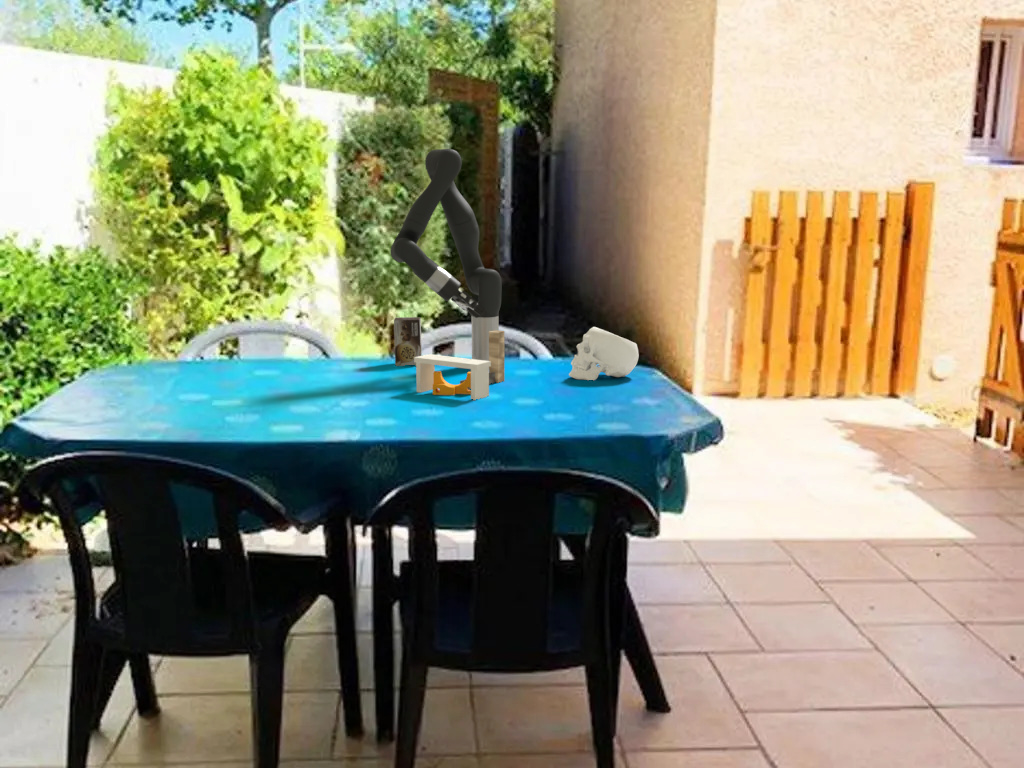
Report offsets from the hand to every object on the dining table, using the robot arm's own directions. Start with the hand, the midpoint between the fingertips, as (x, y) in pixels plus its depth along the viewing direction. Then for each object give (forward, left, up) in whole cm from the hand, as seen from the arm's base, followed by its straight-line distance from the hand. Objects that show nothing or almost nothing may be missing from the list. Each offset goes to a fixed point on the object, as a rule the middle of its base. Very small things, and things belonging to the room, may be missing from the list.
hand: (481, 315), depth 330 cm
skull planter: (-18, +35, -20) cm, 44 cm away
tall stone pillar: (+15, +10, -20) cm, 27 cm away
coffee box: (-2, -33, -20) cm, 38 cm away
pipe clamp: (+29, +10, -20) cm, 37 cm away
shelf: (+30, +10, -20) cm, 38 cm away
